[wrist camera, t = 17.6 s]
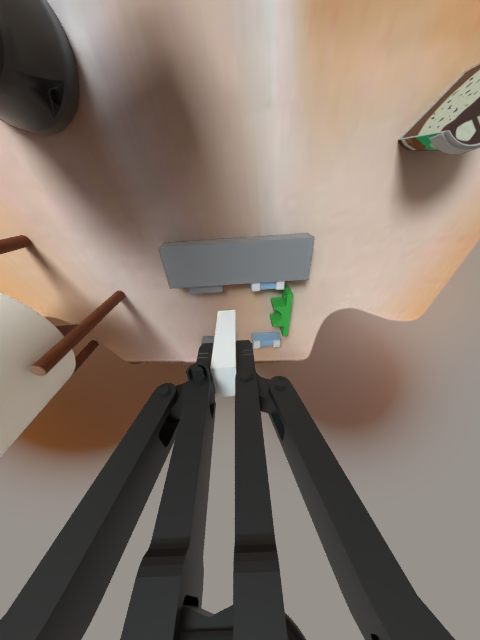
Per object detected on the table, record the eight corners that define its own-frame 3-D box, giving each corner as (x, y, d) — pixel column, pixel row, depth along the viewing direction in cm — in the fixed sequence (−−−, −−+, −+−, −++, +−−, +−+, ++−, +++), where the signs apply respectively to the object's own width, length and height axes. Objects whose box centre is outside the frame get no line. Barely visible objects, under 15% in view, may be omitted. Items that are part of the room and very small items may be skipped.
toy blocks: (191, 343, 53) (188, 353, 50) (164, 242, 39) (158, 247, 35) (294, 336, 53) (298, 346, 49) (307, 232, 38) (314, 237, 35)
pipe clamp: (271, 285, 45) (275, 294, 41) (288, 285, 45) (293, 293, 41) (269, 326, 51) (272, 337, 47) (283, 325, 51) (287, 336, 47)
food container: (405, 180, 34) (460, 177, 26) (388, 149, 32) (443, 135, 23) (489, 102, 29) (592, 67, 21) (476, 59, 26) (587, -1, 18)
